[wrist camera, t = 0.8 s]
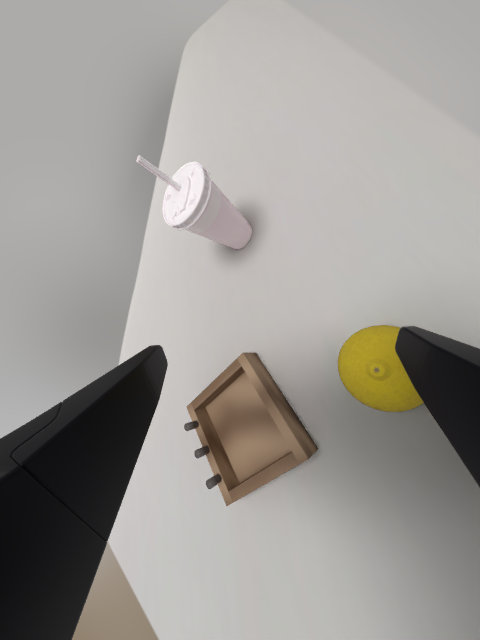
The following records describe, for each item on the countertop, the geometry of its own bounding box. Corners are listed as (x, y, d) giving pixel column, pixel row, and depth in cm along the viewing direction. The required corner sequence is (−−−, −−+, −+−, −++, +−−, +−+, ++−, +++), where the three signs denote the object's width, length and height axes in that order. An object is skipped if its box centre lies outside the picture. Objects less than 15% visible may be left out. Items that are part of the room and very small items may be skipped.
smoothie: (256, 201, 28) (159, 104, 17) (265, 245, 27) (164, 168, 16) (219, 227, 32) (118, 160, 21) (225, 267, 30) (119, 217, 19)
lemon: (367, 320, 19) (348, 303, 13) (448, 350, 16) (474, 347, 10) (339, 376, 20) (308, 386, 14) (411, 415, 17) (412, 452, 11)
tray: (318, 448, 20) (301, 466, 17) (241, 494, 25) (216, 514, 21) (255, 352, 26) (234, 352, 23) (201, 403, 30) (176, 409, 27)
